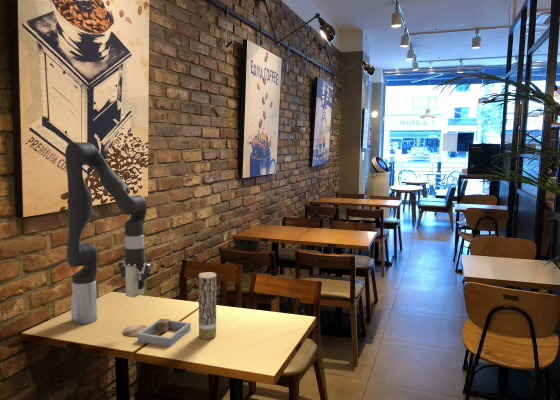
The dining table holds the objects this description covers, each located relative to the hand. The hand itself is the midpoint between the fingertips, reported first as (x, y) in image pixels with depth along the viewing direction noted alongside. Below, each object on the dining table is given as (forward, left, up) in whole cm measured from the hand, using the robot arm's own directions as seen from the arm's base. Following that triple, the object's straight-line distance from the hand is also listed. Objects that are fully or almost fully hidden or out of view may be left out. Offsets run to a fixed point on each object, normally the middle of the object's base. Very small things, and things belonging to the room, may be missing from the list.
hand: (135, 287), depth 176 cm
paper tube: (+29, +5, -18) cm, 35 cm away
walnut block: (+10, +5, -18) cm, 21 cm away
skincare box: (0, 0, -3) cm, 3 cm away
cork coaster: (0, 0, -18) cm, 18 cm away
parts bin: (+13, 0, -18) cm, 22 cm away
